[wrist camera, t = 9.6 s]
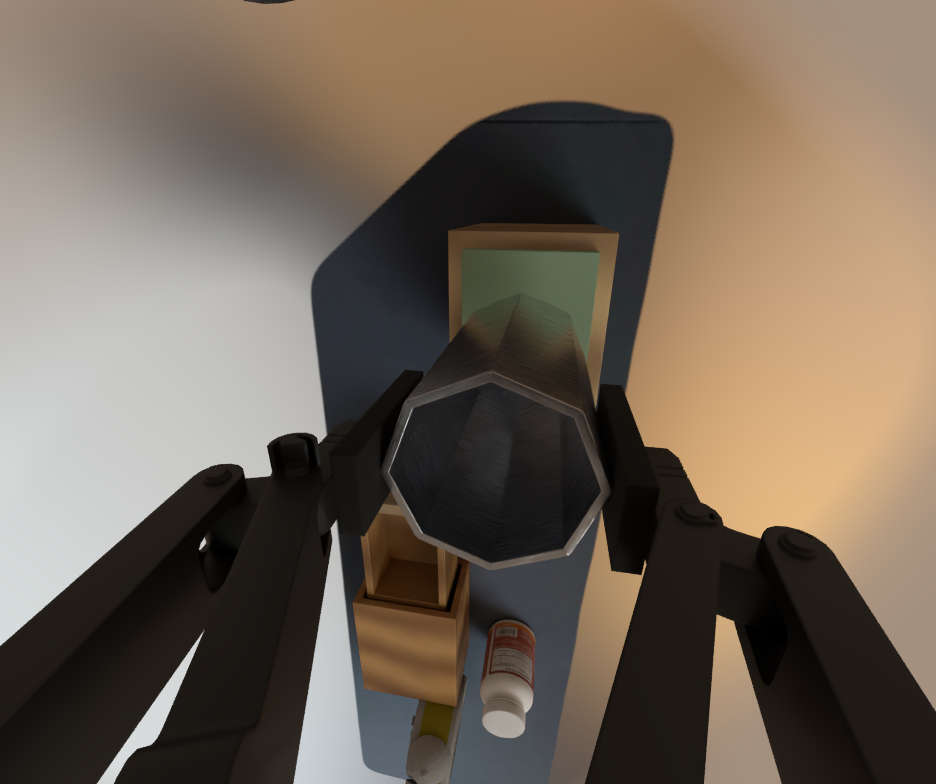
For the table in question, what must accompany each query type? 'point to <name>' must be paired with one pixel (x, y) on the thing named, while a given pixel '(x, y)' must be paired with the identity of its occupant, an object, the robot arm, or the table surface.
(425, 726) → the alarm clock
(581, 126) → the table surface
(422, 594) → the drawer
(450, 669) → the cabinet
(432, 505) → the metal cup
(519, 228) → the stand
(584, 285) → the mat
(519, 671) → the pill bottle
